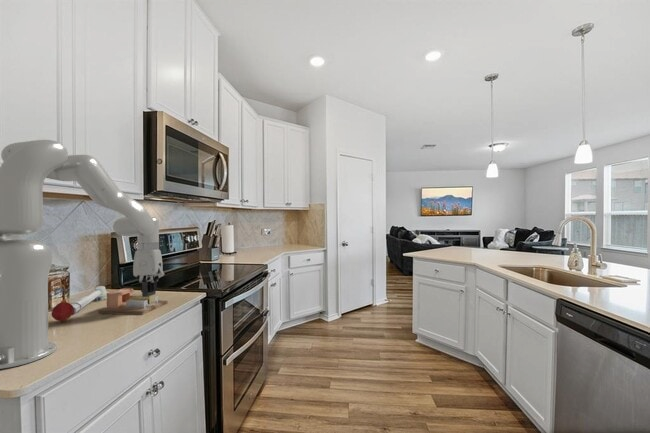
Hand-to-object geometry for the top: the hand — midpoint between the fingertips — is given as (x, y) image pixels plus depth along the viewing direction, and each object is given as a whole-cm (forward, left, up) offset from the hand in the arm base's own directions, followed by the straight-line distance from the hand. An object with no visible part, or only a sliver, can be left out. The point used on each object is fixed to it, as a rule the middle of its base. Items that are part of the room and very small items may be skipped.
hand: (148, 291), depth 113 cm
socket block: (0, +13, -6) cm, 14 cm away
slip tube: (0, +3, -5) cm, 6 cm away
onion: (-16, +21, -7) cm, 27 cm away
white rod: (+2, +30, -8) cm, 31 cm away
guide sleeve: (0, +3, -6) cm, 7 cm away
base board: (0, +7, -7) cm, 10 cm away
